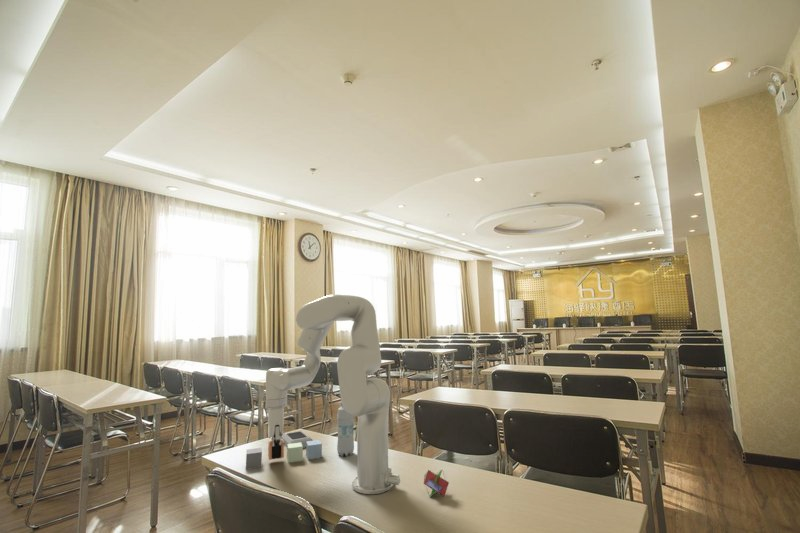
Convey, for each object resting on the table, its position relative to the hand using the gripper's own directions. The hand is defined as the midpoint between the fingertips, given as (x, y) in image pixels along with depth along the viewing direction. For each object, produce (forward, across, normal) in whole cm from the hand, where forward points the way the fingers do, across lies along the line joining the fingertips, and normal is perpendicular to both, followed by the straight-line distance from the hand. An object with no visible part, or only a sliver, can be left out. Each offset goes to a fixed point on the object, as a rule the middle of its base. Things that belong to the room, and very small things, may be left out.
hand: (275, 454), depth 133 cm
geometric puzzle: (+5, +45, +41) cm, 61 cm away
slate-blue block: (+3, -1, +14) cm, 14 cm away
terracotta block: (+1, 0, 0) cm, 1 cm away
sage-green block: (+3, -1, +6) cm, 7 cm away
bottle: (+3, +2, +25) cm, 25 cm away
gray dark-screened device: (+3, -19, +9) cm, 21 cm away
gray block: (+3, -1, -8) cm, 8 cm away
